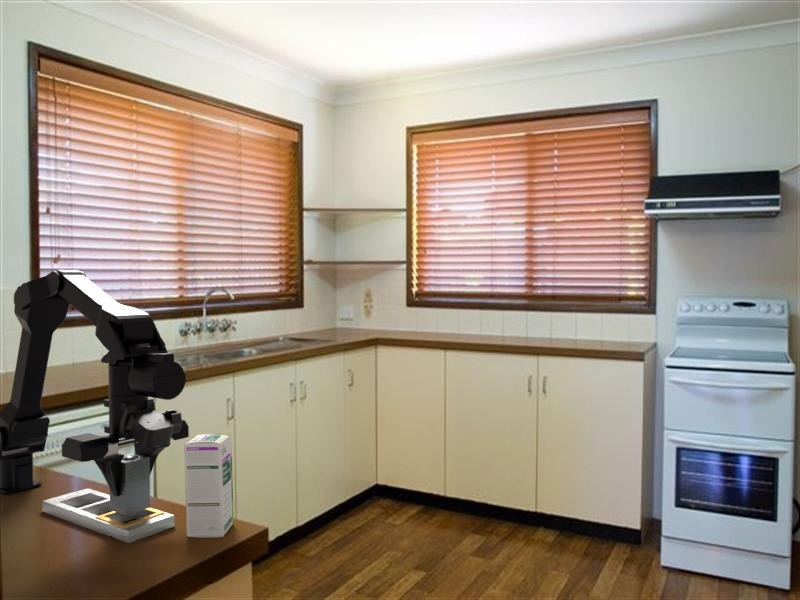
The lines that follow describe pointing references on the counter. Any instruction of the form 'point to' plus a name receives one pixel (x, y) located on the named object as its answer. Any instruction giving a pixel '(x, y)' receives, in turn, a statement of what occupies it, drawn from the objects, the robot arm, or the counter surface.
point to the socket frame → (107, 515)
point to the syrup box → (208, 485)
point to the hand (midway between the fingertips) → (129, 492)
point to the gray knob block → (132, 485)
